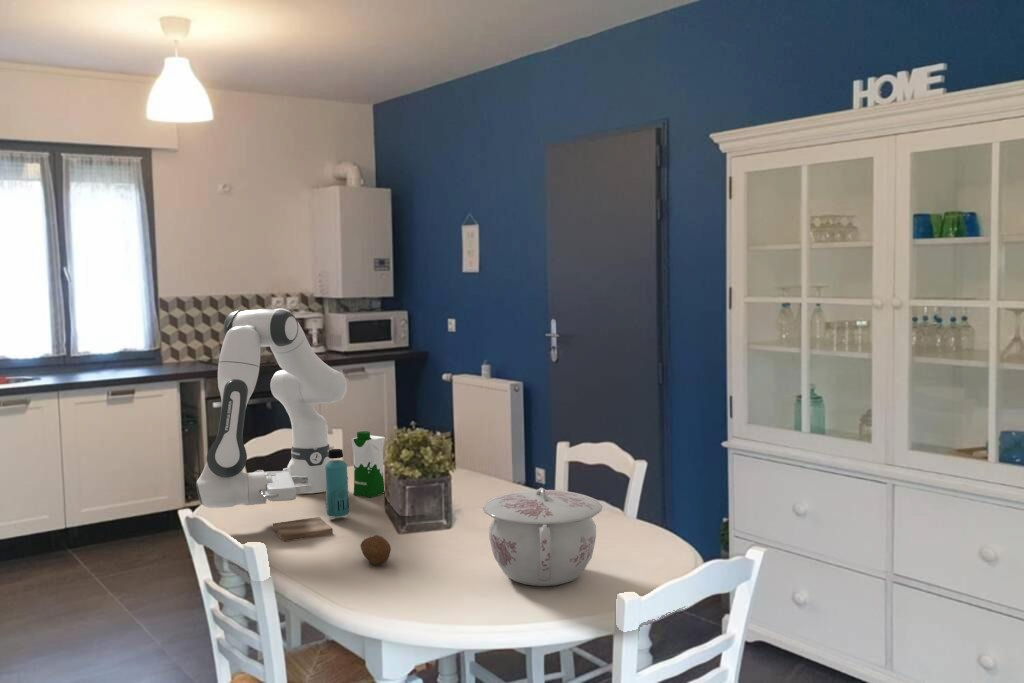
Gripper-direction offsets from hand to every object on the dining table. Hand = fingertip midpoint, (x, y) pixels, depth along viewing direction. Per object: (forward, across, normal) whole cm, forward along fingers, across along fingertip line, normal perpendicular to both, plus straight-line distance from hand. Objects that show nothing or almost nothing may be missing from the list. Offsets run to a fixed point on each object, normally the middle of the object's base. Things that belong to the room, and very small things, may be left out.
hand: (310, 483), depth 253 cm
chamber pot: (+45, -65, +11) cm, 80 cm away
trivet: (-3, -9, +11) cm, 14 cm away
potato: (+11, -42, +11) cm, 45 cm away
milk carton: (+21, +24, +11) cm, 34 cm away
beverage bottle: (+7, 0, +11) cm, 13 cm away
